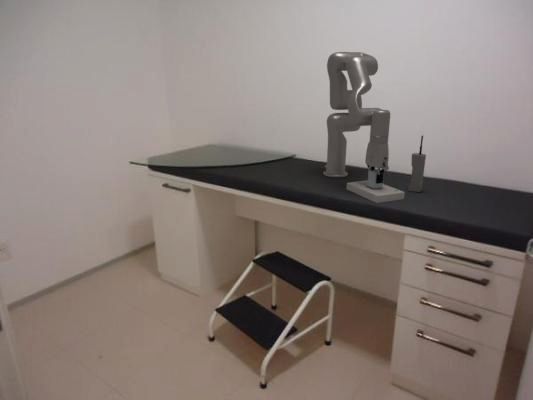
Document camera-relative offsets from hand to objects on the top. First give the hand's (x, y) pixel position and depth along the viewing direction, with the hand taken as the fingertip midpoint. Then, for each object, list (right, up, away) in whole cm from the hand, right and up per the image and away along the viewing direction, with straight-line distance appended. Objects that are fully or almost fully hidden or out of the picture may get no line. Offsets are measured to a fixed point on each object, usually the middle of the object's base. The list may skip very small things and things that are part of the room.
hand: (375, 181), depth 174 cm
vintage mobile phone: (+19, -4, +7) cm, 21 cm away
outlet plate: (0, -5, +2) cm, 6 cm away
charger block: (0, -2, +1) cm, 2 cm away
